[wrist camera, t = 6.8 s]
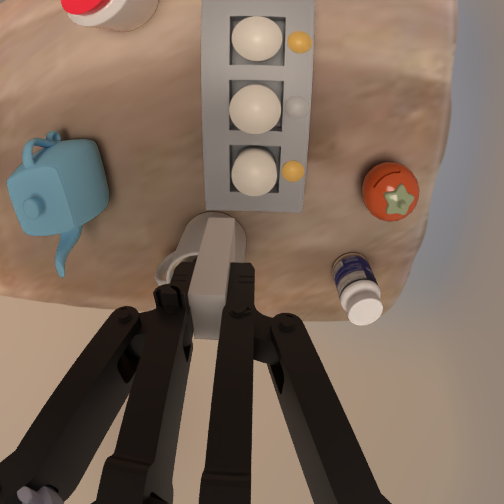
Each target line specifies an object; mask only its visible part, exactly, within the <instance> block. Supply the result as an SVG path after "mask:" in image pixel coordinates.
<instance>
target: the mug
mask: <svg viewBox="0 0 504 504" xmlns="http://www.w3.org/2000/svg"><path fill="white" fill-rule="evenodd" d="M208 218H232V217H230V216H229V215H226V214H224V213H220V212H206V213H202V214H199V215H197V216H196V217H194V218H193V219H192V220H190V222H189V223H188V224H187V226H186V228H185V230H184V232H183V235H182V237H181V239H180V242H179V244H178V246H177V249H176V251H174V252H172V253H171V254H169V255H168V256H167V257H166V258H164V259H163V260H162V262H161V263H160V264H159V266H158V267H157V270H156V272H155V280H156V281H157V283H158V285H159V286H161V285H163V284H168V283H170V281H171V278H172V276H173V272H174V269H175V267H176V266H177V265H178V264H179V263H180V262H181V261H182V262H196V261H197V257H198V254H199V250H200V246H201V243H202V239H203V236H204V232H205V229H206V225H207V222H208ZM245 251H246V235H245V232H244V230H243V228H242V226H241V225H240V224H239V223H238V222H237V221H236V220H235V262H238V263H244V262H245ZM166 271H167V275H166V280H162V279H163V275H164V274H165V272H166Z"/></svg>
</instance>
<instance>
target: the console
mask: <svg viewBox="0 0 504 504" xmlns="http://www.w3.org/2000/svg"><path fill="white" fill-rule="evenodd" d="M314 15H315V0H202V23H201V88H202V133H203V161H204V184H205V203H206V210H229V211H265V212H291V213H302V208H303V198H304V187H305V176H306V164H307V152H308V139H309V125H310V109H311V93H312V73H313V49H314ZM252 16H261V17H266V18H268V19H270V20H272V21H273V22H275V23H276V24H277V25H278V27H279V28H280V30H281V33H282V44H281V47H280V49H279V50H278V52H277V53H276V54H275V55H274V56H273V57H272V58H270V59H269V60H266V61H262V62H253V61H250V60H247V59H245V58H244V57H242V56H241V55H240V54H239V53H238V52H237V51H236V50H235V48H234V47H233V44H232V33H233V30H234V28H235V27H236V25H237V24H238V23H239V22H240V21H242V20H244V19H246V18H248V17H252ZM250 84H262V85H265V86H267V87H269V88H270V89H272V90H273V91H274V93H275V94H276V96H277V98H278V99H279V102H280V105H281V115H280V118H279V120H278V122H277V124H276V125H275V126H274V127H273V128H272V129H271V130H269V131H267V132H265V133H262V134H249V133H246V132H243V131H242V130H240V129H239V128H237V127H236V126H235V125H234V123H233V122H232V120H231V117H230V113H229V106H230V102H231V100H232V98H233V96H234V95H235V94H236V93H237V92H238V91H239V90H240V89H242V88H243V87H245V86H247V85H250ZM249 145H261V146H264V147H266V148H267V149H269V150H270V151H271V152H272V154H273V155H274V158H275V162H276V170H277V180H276V183H275V185H274V187H273V188H272V189H271V190H270V191H269V192H268V193H266V194H264V195H261V196H248V195H245V194H243V193H241V192H240V191H239V190H238V189H237V188H236V187H235V186H234V184H233V181H232V176H231V174H232V168H233V165H234V162H235V159H236V156H237V154H238V153H239V151H240V150H242V149H243V148H244V147H246V146H249Z"/></svg>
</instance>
